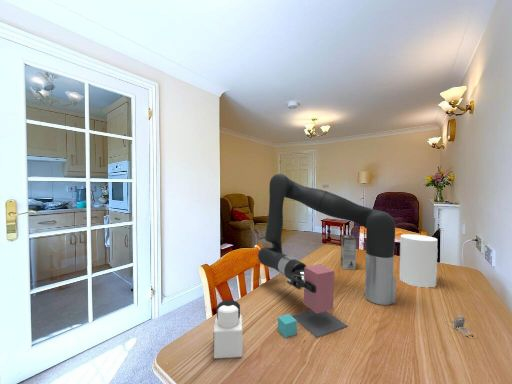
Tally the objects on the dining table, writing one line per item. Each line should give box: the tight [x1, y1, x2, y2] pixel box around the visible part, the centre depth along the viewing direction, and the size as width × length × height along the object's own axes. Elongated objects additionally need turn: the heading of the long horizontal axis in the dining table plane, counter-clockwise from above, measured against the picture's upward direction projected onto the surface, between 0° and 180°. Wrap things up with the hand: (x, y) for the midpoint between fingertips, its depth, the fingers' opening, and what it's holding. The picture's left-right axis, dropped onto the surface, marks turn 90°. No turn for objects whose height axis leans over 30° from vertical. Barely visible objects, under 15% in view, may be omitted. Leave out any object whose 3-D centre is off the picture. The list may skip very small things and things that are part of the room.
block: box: [277, 313, 298, 339], centre depth 68 cm, size 4×4×4 cm
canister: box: [399, 233, 438, 289], centre depth 104 cm, size 14×14×20 cm
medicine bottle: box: [213, 299, 243, 359], centre depth 61 cm, size 7×7×12 cm
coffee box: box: [340, 234, 357, 271], centre depth 123 cm, size 9×6×16 cm
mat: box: [291, 309, 348, 339], centre depth 74 cm, size 12×12×1 cm
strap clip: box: [453, 315, 474, 335], centre depth 70 cm, size 8×3×4 cm, turn 6°
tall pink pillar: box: [303, 264, 335, 314], centre depth 73 cm, size 6×6×12 cm
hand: (323, 287), depth 71 cm, fingers closed on tall pink pillar, 6 cm apart
